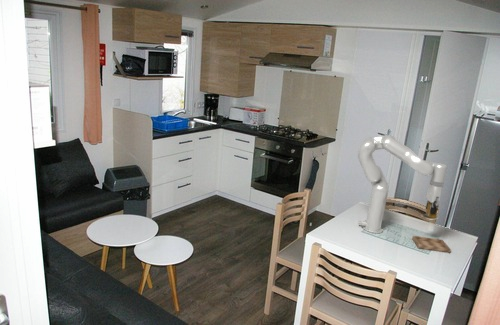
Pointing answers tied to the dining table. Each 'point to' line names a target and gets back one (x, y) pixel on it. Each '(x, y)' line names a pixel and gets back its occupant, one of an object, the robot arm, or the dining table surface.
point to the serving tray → (431, 244)
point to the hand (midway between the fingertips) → (430, 211)
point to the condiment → (428, 215)
